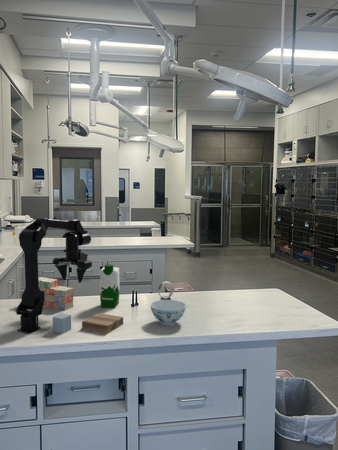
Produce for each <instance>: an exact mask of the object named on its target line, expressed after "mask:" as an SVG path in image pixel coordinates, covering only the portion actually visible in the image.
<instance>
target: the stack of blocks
mask: <svg viewBox="0 0 338 450" xmlns="http://www.w3.org/2000/svg"><path fill="white" fill-rule="evenodd" d="M38 280H39V289H40V290H41V291H44V293H45V294H44V298H45V301H44V305H43V307H46V308H50V309H51V308H52V309H56V310H60V311H66V310H70V309H73V307H74V287H68V286H62V285H59V283H60V280H59V279H57V278H50V277H42V276H40V277H39V276H38Z"/></svg>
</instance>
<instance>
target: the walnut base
mask: <svg viewBox="0 0 338 450" xmlns="http://www.w3.org/2000/svg"><path fill="white" fill-rule="evenodd" d="M81 324H82V325H81V329H82V330H85V331H92V332H96V333H97V332H98V333H102V334H109V333H112V331H115V330H116V329H117V328H120V327H121V326H123V325H124V317H123V316H119V315H111V314H106V313H100V312H99V313H96V314H95V315H92V316H90V317H89V318H86V319H84V320H82V321H81Z"/></svg>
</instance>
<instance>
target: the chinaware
mask: <svg viewBox="0 0 338 450" xmlns="http://www.w3.org/2000/svg"><path fill="white" fill-rule="evenodd" d="M149 306H150V310H151V313H152V314H153V316H154V318H155V319H156V320H157V321H159V323H160V324H161V325H164V326H174V325H175V324H176V323H177V321H179V320H181V318H182V317H183V316H184V314H185V311H186V308H187V304H186V303H185V302H183V301H180V300H173V299H171V300H161V299H160V300H155V301H153V302H151V303H150V305H149ZM173 324H174V325H173Z"/></svg>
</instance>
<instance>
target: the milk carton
mask: <svg viewBox="0 0 338 450" xmlns="http://www.w3.org/2000/svg"><path fill="white" fill-rule="evenodd" d="M99 292H100V293H99V295H100V296H99V298H100V300H99V301H100V308H110V309H116V307H118V305H119V303H120V302H119V301H120V267H114V265H113V264H105V265H104V267H102V268H101V269H100V270H99Z"/></svg>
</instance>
